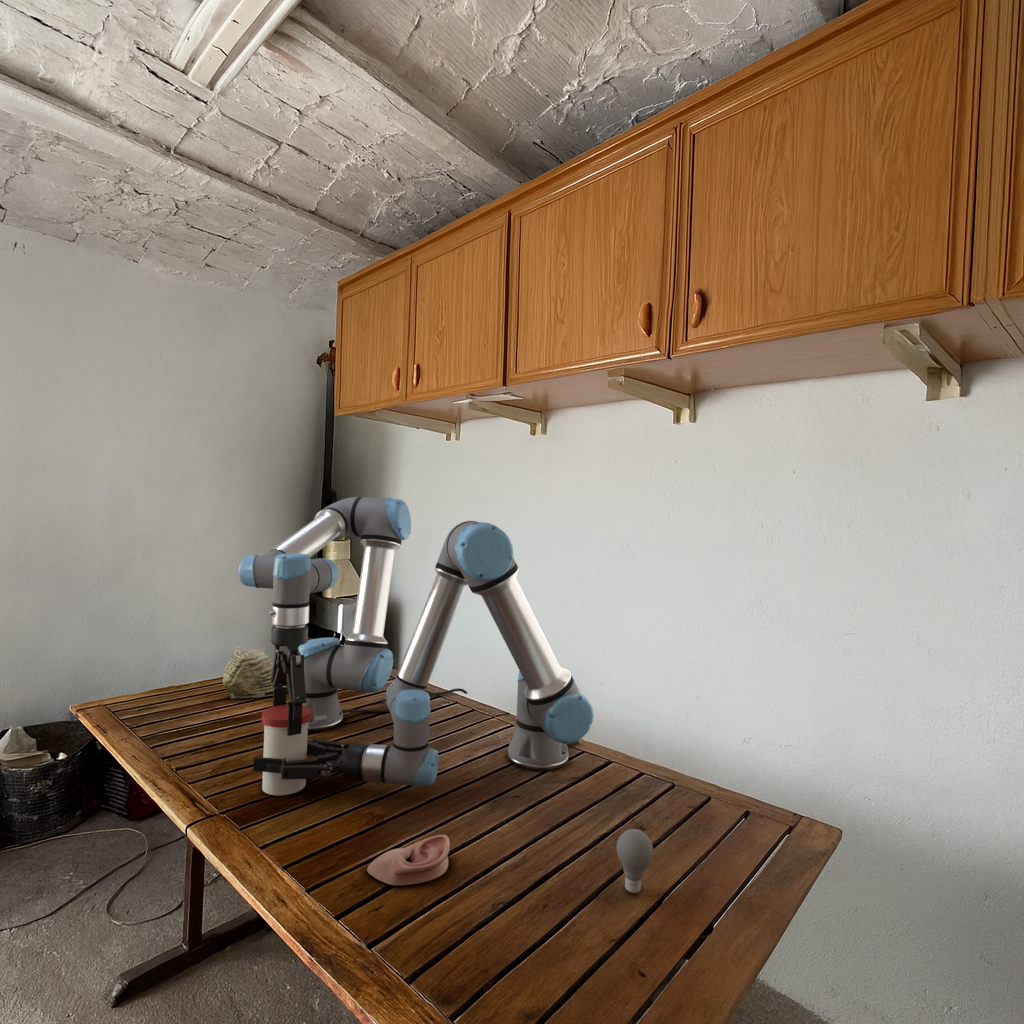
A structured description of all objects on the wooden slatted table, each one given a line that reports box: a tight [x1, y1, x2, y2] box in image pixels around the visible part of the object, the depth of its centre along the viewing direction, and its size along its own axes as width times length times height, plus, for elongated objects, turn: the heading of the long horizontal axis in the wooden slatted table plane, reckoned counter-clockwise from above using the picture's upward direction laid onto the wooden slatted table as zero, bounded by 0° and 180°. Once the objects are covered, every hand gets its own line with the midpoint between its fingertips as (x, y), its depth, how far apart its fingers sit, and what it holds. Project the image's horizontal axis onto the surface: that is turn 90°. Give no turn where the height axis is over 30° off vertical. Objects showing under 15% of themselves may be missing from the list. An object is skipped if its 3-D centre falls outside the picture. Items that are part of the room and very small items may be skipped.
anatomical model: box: [366, 834, 451, 886], centre depth 109 cm, size 13×4×12 cm
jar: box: [261, 722, 309, 796], centre depth 138 cm, size 9×9×15 cm
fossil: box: [222, 646, 288, 699], centre depth 198 cm, size 9×18×15 cm, turn 132°
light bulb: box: [615, 828, 654, 894], centre depth 106 cm, size 6×6×10 cm
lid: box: [261, 704, 311, 728], centre depth 138 cm, size 10×10×2 cm
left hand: (286, 725), depth 138 cm, fingers open, 11 cm apart
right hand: (265, 754), depth 138 cm, fingers closed on jar, 9 cm apart
